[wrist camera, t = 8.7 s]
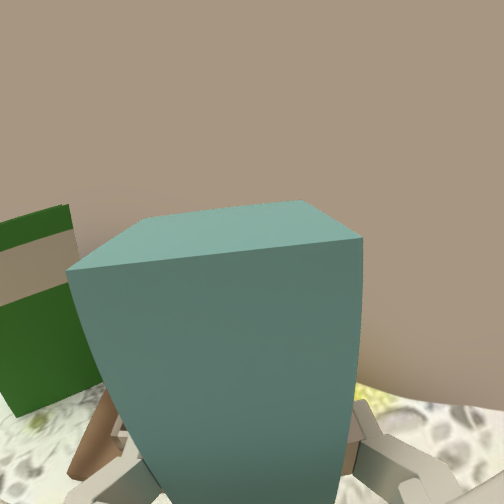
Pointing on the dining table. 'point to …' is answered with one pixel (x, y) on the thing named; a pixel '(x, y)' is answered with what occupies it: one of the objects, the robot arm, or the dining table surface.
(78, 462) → the socket board
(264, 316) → the teal post
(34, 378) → the hardback book
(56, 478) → the dining table surface
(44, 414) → the dining table surface
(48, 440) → the dining table surface
